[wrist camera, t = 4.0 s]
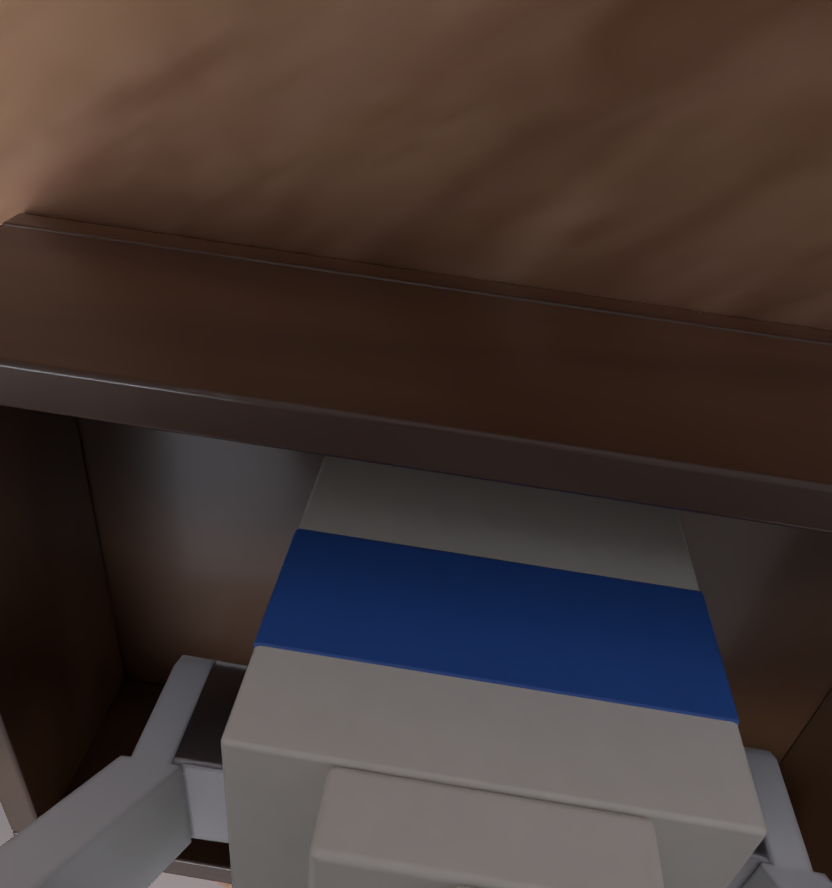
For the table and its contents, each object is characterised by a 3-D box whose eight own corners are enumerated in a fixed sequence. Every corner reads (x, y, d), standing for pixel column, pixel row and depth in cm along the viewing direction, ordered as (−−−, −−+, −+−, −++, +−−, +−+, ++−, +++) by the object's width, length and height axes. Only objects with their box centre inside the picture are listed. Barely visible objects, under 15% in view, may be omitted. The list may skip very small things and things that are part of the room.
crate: (19, 211, 11) (-197, 330, 8) (1069, 364, 10) (1324, 562, 7) (113, 672, 17) (17, 848, 14) (774, 780, 17) (838, 989, 13)
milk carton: (332, 427, 12) (154, 906, 6) (672, 479, 12) (828, 1024, 6) (321, 649, 15) (197, 1104, 9) (588, 692, 15) (635, 1183, 9)
